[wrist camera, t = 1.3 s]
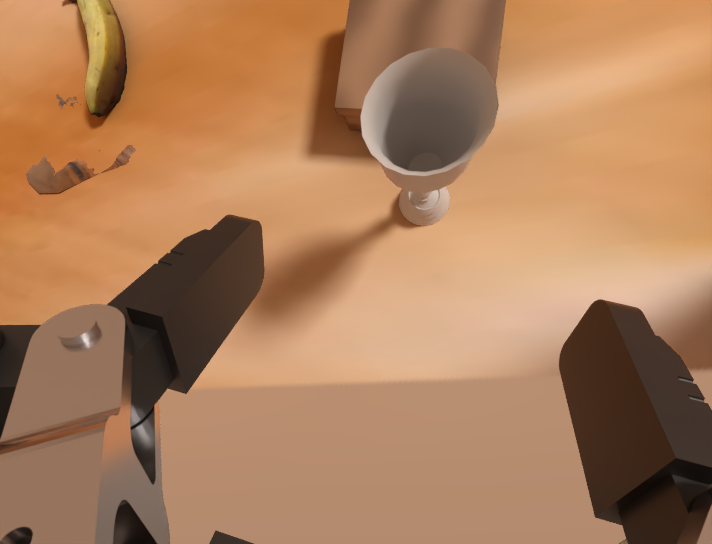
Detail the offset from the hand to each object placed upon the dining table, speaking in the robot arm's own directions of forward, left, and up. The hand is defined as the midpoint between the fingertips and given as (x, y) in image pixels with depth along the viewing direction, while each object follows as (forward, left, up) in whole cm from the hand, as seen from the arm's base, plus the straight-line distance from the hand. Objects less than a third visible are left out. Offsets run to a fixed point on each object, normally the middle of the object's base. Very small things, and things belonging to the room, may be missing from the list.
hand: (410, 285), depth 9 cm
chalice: (+1, -10, -28) cm, 30 cm away
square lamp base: (+3, -23, -28) cm, 36 cm away
